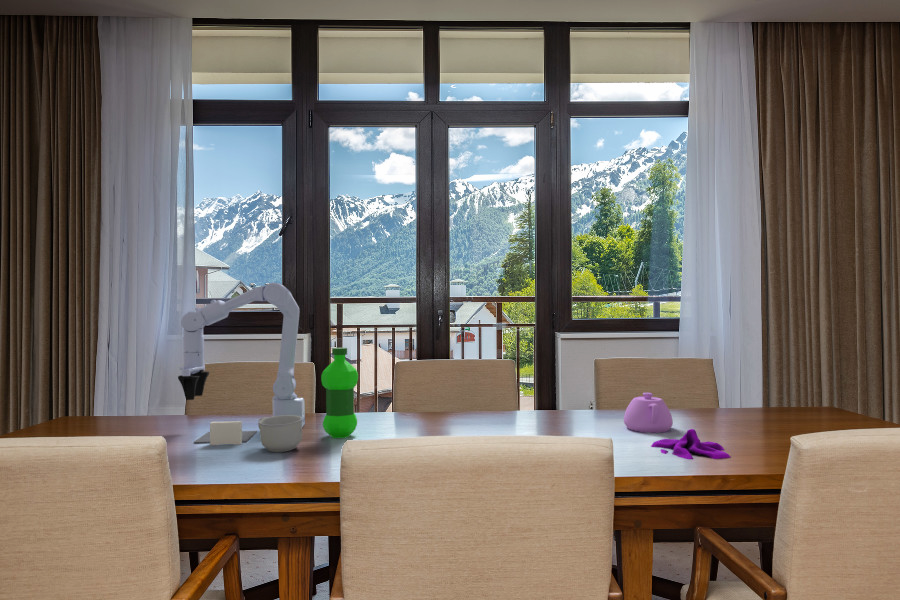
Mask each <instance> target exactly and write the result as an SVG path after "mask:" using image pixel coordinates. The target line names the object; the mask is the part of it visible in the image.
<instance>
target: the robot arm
mask: <svg viewBox="0 0 900 600" xmlns="http://www.w3.org/2000/svg"><path fill="white" fill-rule="evenodd" d="M252 302H268V303H269V304H271V305H273V306H275V307H276V308H277V309H278V310H279V312H281V314H282V315H283V317H282V318H283V319H282V320H283V321H282V330H281V340H280V341H281V342H280V350H279V359H278V360H279V361H278V369H277V374H276V375H277V376H276V380H275V381H274V382H273V384H272V392H273V394H274V395H273V396H272V417H273V416H280V415H295V416H300V417H301V418H302V428H303V427H304V426H305V425H306V418H305V416H306V414H305V412H306V411H305V409H306V408H305V406H306V405H305V398H304V397H298V395H297V394H296V392H295V390H296V387H297V381H296V379H295V363H296V362H295V361H296V353H297V341H298V333H299V322H300V321H299V320H300V307H299V305H298V303H297V301H296V300H295V299H294V297H293V294H292V292H291V290H289V289H288V288H287V287H286V286H285V285H283V284H281V283H278V282H270V283H268V284H266V285H260V286H257V287H254V288H251V289H250V290H247V291H246V292H243V293H241V294H239V295H237V296H234V297H233V298H230V299H228V300H227V301H223V300H220V299H217V300H216V299H213V300H211V301H210V303H209V304H206V305H203V306H202V307H196V308H195V311H188V312H187V313H184V315H183V316H182V317H181V321H180V324H181V326H182V328H183V332H182V333H183V338H182V339H183V340H182V341H183V342H182V347H183V357H182V359H183V366H180V367H178V368H179V370H181V372H182V373H181V375H178V376H177V378H178V381H179V382H180V385H181V387H182V389H183V394H184V397H185V401H193V400H195V397H198V396H199V397H202V396H203V393H204V389H205V385H206V381H207V379H208V377H209V375H210V371H206V364H205V336H204V328H205V326H210V325H213V324H215V323H218V322H220V321H221V320H224V319H226V318H228V317H229V314H230V312H231V311H234V310H236V309H239V308H241V307H243V306H246V305H248V304H251V303H252Z"/></svg>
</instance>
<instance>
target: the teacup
mask: <svg viewBox="0 0 900 600" xmlns="http://www.w3.org/2000/svg"><path fill="white" fill-rule="evenodd" d="M257 424H258V429H259V436H260V442H261V445H262V447H264V449H267V450H268V451H269V452H272V453H283V452H290V451H293V450H294V449H296V447H297V446H298V445H299V444H300V443H301V441H302V438H303V427H302V418H301V417H300V416H295V415H280V416H273V415H272V416H270V417H269V416H268V417H266V416H264V417H261V418H260V419H259V420H258V423H257Z"/></svg>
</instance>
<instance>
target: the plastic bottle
mask: <svg viewBox="0 0 900 600" xmlns="http://www.w3.org/2000/svg"><path fill="white" fill-rule="evenodd" d="M331 355H332V356H333V357H334V358H333V361H332V362H331V363H330V364H328V366H326V367H325V369H324V370H323V371H322V373H321V377H320V380H321V385H322V386H323V388H324V389H325V400H326V401H325V411H326V412H325V413H326V415H325V416H324V418H323V421H322V427H323V431H324V432H325V433H326V434H328V435H329V436H330V437H331V438H333V439H345V437H346V438H349V437H350V436H351V435H352V434H353V433H354V432H355V431H356V428H357V426H358V418H357V415H356V413H355V405H354V404H355V400H354V399H355V395H354V394H355V390H354V388H355V387H356V386H357V385H358V381H359V373H358V370H357V368H355V367H354V366H353V365H352V364H351V363H350V362H349V361H347V360H346V355H348V348H347V347H332V348H331Z"/></svg>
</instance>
